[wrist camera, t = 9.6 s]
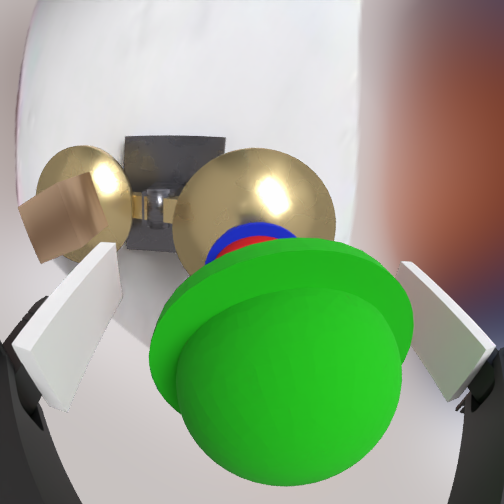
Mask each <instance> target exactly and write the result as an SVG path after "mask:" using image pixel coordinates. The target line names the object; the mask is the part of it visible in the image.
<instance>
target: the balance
mask: <svg viewBox="0 0 504 504" xmlns="http://www.w3.org/2000/svg"><path fill="white" fill-rule="evenodd" d="M225 143H226V138H224V137H206V136H127V137H125V157H124V170H123V168H122V167H121V165H120V164H119V163H118V162H117V161H116V160H115V159H114V158H113V157H112V156H111V155H110V154H108V153H107V152H105V151H104V150H102V149H100V148H97V147H94V146H88V145H80V146H74V147H69V148H66V149H64V150H62V151H60V152H59V153H57V154H56V155H55V156H53V157H52V158H51V159H50V161H49V162H48V163H47V164H46V166H45V167H44V169H43V171H42V173H41V175H40V178H39V181H38V185H37V190H36V195H37V194H39V193H41V192H42V191H44V190H46V189H47V188H49V187H51V186H52V185H54V184H56V183H58V182H60V181H63V180H66V179H69V178H72V177H74V176H77V175H80V174H83V173H86V172H90V175H91V178H92V181H93V184H94V187H95V190H96V193H97V195H98V198H99V201H100V204H101V207H102V209H103V212H104V215H105V217H106V220H107V222H108V226H107V227H105V228H104V229H103V230H102V231H101V232H99V233H98V234H97V235H96V236H95V237H93V238H92V239H91V240H90V241H89V242H88V243H86V244H85V245H84V246H83V247H82V248H79V249H77V250H74V251H72V252H69V253H67V254H64V255H63V256H65V257H66V258H68V259H70V260H72V261H75V262H78V263H80V262H81V261H82V260H83V259H84V258H85V257H86V256H87V255H88V254H89V253H90V252H91V251H92V250H93V249H94V248H95V247H96V246H97V245H98V244H99V243H100V242H109V243H116V250H117V251H118V250H119V249H120V248H121V246H122V245H123V244H124V243H125V241H126V240H127V249H137V250H151V251H166V252H177V254H178V257H179V259H180V261H181V263H182V265H183V267H184V268H185V269H186V271H187V272H188V274H189V275H190V276H191V275H192V274H194V273H195V272H196V271H198V270H199V269H200V268H202V267H203V266H204V265H205V261H206V258H207V255H208V253H209V251H210V249H211V247H212V246H213V244H214V243H215V242H216V240H217V239H218V238H220V237H221V236H222V235H223V234H224V233H225V232H226V231H227V230H229V229H231V228H233V227H237V226H239V225H243V224H247V223H253V222H266V223H271V224H275V225H278V226H281V227H283V228H285V229H287V230H289V231H290V232H291V233H292V234H294V235H295V236H296V237H297V238H298V237H299V238H320V239H325V240H330V241H334V237H335V230H336V218H335V210H334V206H333V203H332V199H331V197H330V195H329V192H328V190H327V189H326V187H325V185H324V184H323V182H322V181H321V179H320V178H319V177H318V176H317V175H316V173H315V172H314V171H312V170H311V169H310V168H309V167H308V166H307V165H305V164H304V163H303V162H301V161H300V160H298V159H296V158H294V157H292V156H290V155H288V154H285V153H282V152H279V151H276V150H271V149H265V148H245V149H239V150H235V151H231V152H228V153H225Z"/></svg>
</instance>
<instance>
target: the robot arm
mask: <svg viewBox="0 0 504 504" xmlns="http://www.w3.org/2000/svg"><path fill="white" fill-rule="evenodd" d="M395 279H396V280H397V281H398V282H399V283H400V284H401V286H402V287H403V289H404V290H405V291H406V294H407V296H408V298H409V300H410V303H411V306H412V310H413V320H414V329H413V337H412V341H411V346H412V348H413V349H414V351H415V352H416V354H417V355H418V357H419V358H420V360H421V361H422V363H423V364H424V366H425V367H426V369H427V370H428V372H429V373H430V375H431V376H432V378H433V380H434V381H435V383H436V384H437V386H438V388H439V389H440V391H441V392H442V394H443V396H444V397H445V399H446V401H447V402H449V401H452V400H454V399H456V398H459V396H460V395H461V394H462V393H463V392H464V390H465V389H466V388H467V387H468V389H469V390H470V392H469V393H468V394H467V395H466V397H465V398H464V399H463V400H462V401H461V403H460V404H459V405H458V406H457V407H456V410H455V411H458V410H459V409H460V408H461V406H464V408H462V410H461V411H460V412H461V413H464V424H463V433H462V441H461V447H460V453H459V459H458V464H457V469H456V473H455V478H454V482H453V486H452V490H451V493H450V497H449V500H448V504H504V348H501V349H500V350H499V351H498V350H497V349H496V348H495V347H496V345H495V344H494V343H493V342H492V341H491V340H490V339H489V337H488V336H487V335H486V334H485V333H484V332H483V331H482V330H481V329H480V328H479V326H478V325H477V324H476V323H475V322H474V321H473V320H472V319H471V318H470V317H469V316H468V315H467V314H466V313H465V312H464V311H463V310H462V309H461V308H460V307H459V306H458V305H457V304H456V303H455V302H454V301H453V300H452V299H451V298H450V297H449V296H448V295H447V294H446V293H445V292H444V291H443V290H442V289H441V288H440V287H439V286H438V285H437V284H436V283H434V281H432V280H431V279H430V278H429V277H428V276H427V275H426V274H425V273H424V272H423V271H421V270H420V269H419V268H418V267H417V266H416V265H415V264H413V263H412V262H404V261H401V262H400V265H399V268H398V271H397V274H396V277H395ZM122 298H123V294H122V288H121V281H120V274H119V267H118V259H117V250H116V243H109V242H100V243H99V244H98V245H97V246H96V247H95V248H94V249H93V250H92V251H91V252H90V253H89V254H88V255H87V256H86V257H85V258H84V259H83V260H82V261H81V262H80V263H79V264H78V265H77V266H76V267H75V268H74V269H73V270H72V271H71V273H70V274H69V275H68V276H67V277H66V278H65V279H64V280H63V281H62V282H61V283H60V285H59V286H58V287H57V288H56V289H55V290H54V291H53V293H52V294H51V295H50V296H45V297H44V298H42V299H40V300H39V301H38V302H36V303H35V304H34V305H33V306H32V308H31V309H30V310H29V311H28V313H27V314H26V315H25V316H24V317H23V318H22V321H20V322H19V323H18V325H17V326H16V327H15V328H14V330H13V331H12V333H11V334H10V335H9V336H8V338H7V339H6V340H5V342H4V343H3V344H2V343H1V341H0V504H82V503H81V501H80V499H79V497H78V496H77V493H76V492H75V490H74V488H73V486H72V484H71V482H70V480H69V478H68V476H67V474H66V472H65V470H64V467H63V465H62V463H61V460H60V458H59V456H58V454H57V451H56V448H55V446H54V443H53V441H52V438H51V435H50V432H49V429H48V427H47V424H46V420H45V417H44V414H43V411H42V408H41V406H40V404H39V403H38V402H39V400H40V398H41V396H42V397H43V398H44V399H45V401H46V402H47V404H48V405H49V406H50V407H53V408H56V409H58V410H61V411H64V412H68V410H69V408H70V405H71V403H72V401H73V398H74V396H75V393H76V391H77V389H78V386H79V384H80V382H81V379H82V377H83V375H84V373H85V370H86V368H87V366H88V364H89V362H90V360H91V358H92V356H93V353H94V352H95V350H96V347H97V345H98V343H99V341H100V339H101V337H102V336H103V333H104V332H105V330H106V328H107V326H108V324H109V322H110V320H111V318H112V316H113V315H114V313H115V311H116V309H117V307H118V305H119V304H120V302H121V300H122Z"/></svg>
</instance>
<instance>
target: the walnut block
mask: <svg viewBox="0 0 504 504" xmlns="http://www.w3.org/2000/svg"><path fill="white" fill-rule="evenodd" d="M18 209H19V212H20V215H21V218H22V220H23V223H24V226H25V228H26V231H27V233H28V236H29V238H30V241H31V243H32V245H33V248H34V250H35V252H36V255H37V257H38V259H39V261H40V263H41V264H42V263H44V262H47V261H49V260H52V259H54V258H56V257H59V256H61V255H64V254H67V253H69V252H72V251H74V250H77V249H79V248H82V247H83V246H84V245H85V244H86V243H88V242H89V241H90V240H91V239H92V238H93V237H95V236H96V235H97V234H98V233H99V232H101V231H102V230H103V229H104V228H105V227H107V226H108V222H107V220H106V217H105V215H104V212H103V209H102V207H101V204H100V201H99V198H98V195H97V193H96V190H95V187H94V184H93V181H92V178H91V175H90V172H86V173H83V174H80V175H77V176H74V177H72V178H69V179H66V180H63V181H60V182H58V183H56V184H54V185H52V186H51V187H49V188H47V189H46V190H44V191H42V192H41V193H39V194H37V195H36V196H34V197H33V198H31V199H30V200H28V201H27V202H25V203H24V204H22V205H21V206H19V207H18Z"/></svg>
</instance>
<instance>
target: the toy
mask: <svg viewBox="0 0 504 504" xmlns="http://www.w3.org/2000/svg"><path fill="white" fill-rule="evenodd" d="M413 329H414V320H413V310H412V306H411V303H410V300H409V298H408V296H407V294H406V291H405V290H404V289H403V287H402V286H401V284H400V283H399V282H398V281H397V280H396V279H395V278H394V277H393V276H392V275H391V274H390V273H389V272H388V271H387V270H386V269H385V268H384V267H383V266H382V265H381V264H380V263H379V262H378V261H377V260H375V259H374V258H372V257H371V256H369V255H368V254H366V253H365V252H363V251H361V250H359V249H356V248H354V247H351V246H349V245H346V244H344V243H341V242H335V241H330V240H325V239H320V238H299V237H298V238H297V237H296V236H295V235H294V234H292V233H291V232H290V231H289V230H287V229H285V228H283V227H281V226H278V225H275V224H271V223H266V222H253V223H247V224H243V225H239V226H237V227H233V228H231V229H229V230H227V231H226V232H225V233H224V234H223V235H222V236H221V237H220V238H218V239H217V240H216V242H215V243H214V244H213V246H212V247H211V249H210V251H209V253H208V255H207V258H206V261H205V265H204V266H203V267H202V268H200V269H199V270H198V271H196V272H195V273H194V274H192V275H191V276H190V277H188V278H187V279H186V280H185V281H184V282H183V283H182V284H181V285H180V286H179V287H178V288H177V289H176V290H175V292H174V293H173V294H172V296H171V297H170V299H169V300H168V301H167V303H166V304H165V306H164V308H163V310H162V312H161V314H160V317H159V319H158V321H157V324H156V327H155V330H154V333H153V336H152V339H151V345H150V351H149V366H150V370H151V375H152V378H153V380H154V383H155V385H156V387H157V389H158V391H159V392H160V393H161V395H162V396H163V398H164V399H165V400H166V401H167V402H168V403H169V404H170V405H171V406H172V407H173V408H174V409H175V410H176V411H177V412H179V413H180V414H181V415H182V417H183V420H184V422H185V425H186V427H187V429H188V430H189V432H190V434H191V436H192V437H193V439H194V440H195V441H196V443H197V444H198V445H199V447H200V448H201V449H202V450H203V451H204V452H205V453H206V455H208V456H209V457H210V458H211V459H212V460H213V461H214V462H216V463H217V464H218V465H220V466H221V467H223V468H224V469H226V470H227V471H229V472H231V473H233V474H235V475H237V476H239V477H241V478H244V479H247V480H250V481H252V482H256V483H261V484H266V485H272V486H298V485H305V484H311V483H316V482H319V481H322V480H325V479H328V478H330V477H332V476H335V475H337V474H339V473H341V472H343V471H344V470H346V469H348V468H349V467H351V466H353V465H354V464H356V463H357V462H358V461H360V460H361V459H362V458H363V457H364V456H365V455H366V454H367V453H368V452H370V450H372V448H373V447H374V446H375V445H376V444H377V443H378V441H379V440H380V439H381V437H382V436H383V434H384V433H385V431H386V430H387V428H388V426H389V425H390V422H391V420H392V418H393V416H394V413H395V411H396V408H397V404H398V401H399V396H400V391H401V383H402V367H401V365H402V363H403V362H404V360H405V358H406V355H407V353H408V350H409V348H410V345H411V341H412V337H413Z"/></svg>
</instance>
